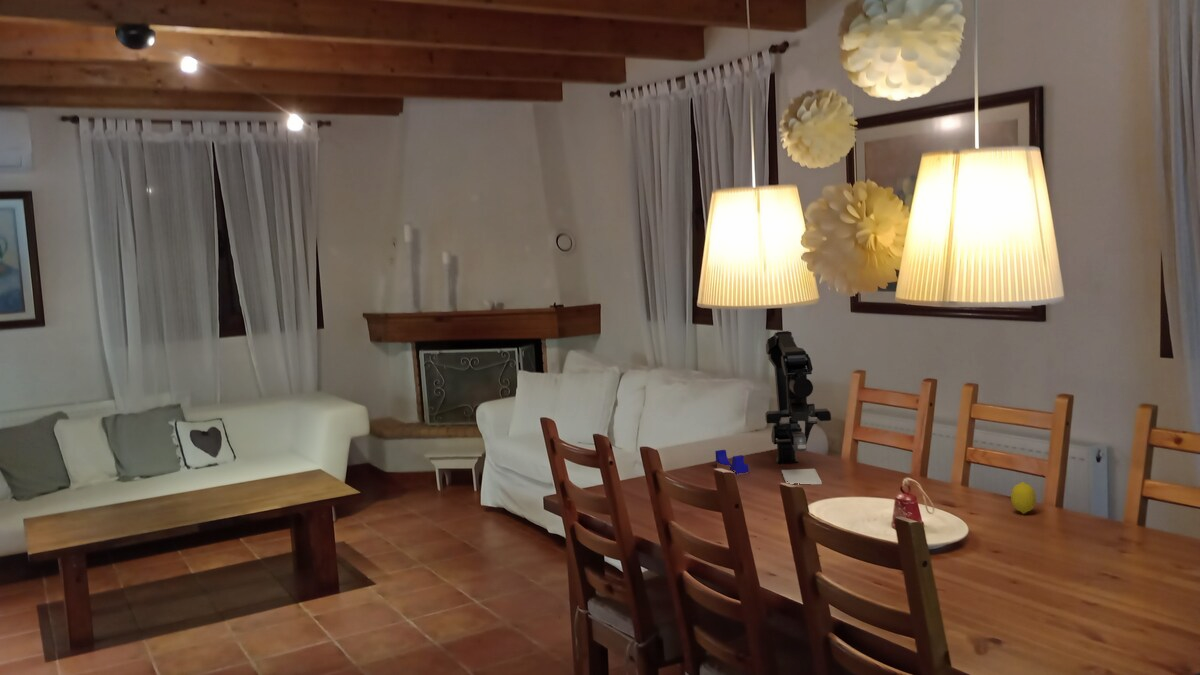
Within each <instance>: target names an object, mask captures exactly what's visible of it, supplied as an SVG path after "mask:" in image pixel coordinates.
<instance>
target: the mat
mask: <svg viewBox="0 0 1200 675" xmlns="http://www.w3.org/2000/svg"><path fill="white" fill-rule="evenodd" d="M782 474H783V475H782ZM781 475H782V476H783V480H784V482H785V484H786V483H790V484H794V483H798V485H797V486H800V485H799V483H800V484H811V485H822V484H823V483H822V480H821V478H820V476H819V474H818V472H817V470H816V469H815V468H801V469H800V468H798V469H797V468H796V469H781ZM787 481H788V482H787Z"/></svg>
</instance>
